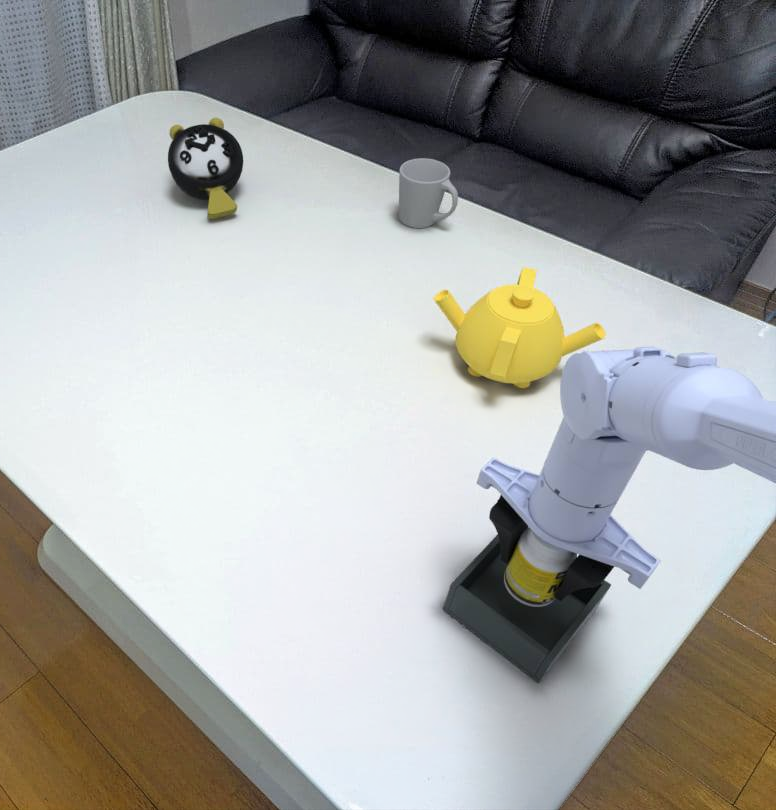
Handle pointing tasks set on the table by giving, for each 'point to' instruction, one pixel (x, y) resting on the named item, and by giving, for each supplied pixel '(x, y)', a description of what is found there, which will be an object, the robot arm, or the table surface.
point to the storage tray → (517, 614)
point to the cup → (424, 192)
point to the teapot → (513, 332)
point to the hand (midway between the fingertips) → (536, 573)
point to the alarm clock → (206, 164)
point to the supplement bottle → (536, 570)
